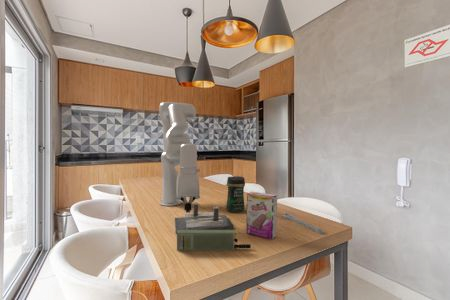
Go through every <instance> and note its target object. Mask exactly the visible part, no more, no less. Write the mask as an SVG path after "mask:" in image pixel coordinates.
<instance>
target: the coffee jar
mask: <svg viewBox="0 0 450 300" xmlns="http://www.w3.org/2000/svg"><path fill="white" fill-rule="evenodd" d="M226 185H227V198H226V199H227V200H226V205H225V206H226V211H227V212H229V213H240V212H242V213H243V212H244V211H245V198H244V196H245V195H244V191H245V185H246V179H245V177H243V176H241V175H240V176H239V175H237V176H228V177H227V181H226Z"/></svg>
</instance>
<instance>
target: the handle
mask: <svg viewBox="0 0 450 300" xmlns="http://www.w3.org/2000/svg"><path fill="white" fill-rule="evenodd" d="M219 209H220V207H219V206H218V205H214V206H213V212H214V219H213V221H215V220H219V215H220V214H219V211H220V210H219Z"/></svg>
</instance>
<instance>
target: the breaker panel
mask: <svg viewBox="0 0 450 300" xmlns="http://www.w3.org/2000/svg"><path fill="white" fill-rule="evenodd" d="M213 219H214V211H208V212H206V211H205V212H198V216H193V212H190V213H189V212H188V213H184V216H182V217H175V218H174V227H175V231H174V232H175V234H176V235H177V231H178V230H235V225H234V224H233V223H232V221H231V220H230V218H229V217H228V216H227V215H226V214H219V220H215V221H213Z"/></svg>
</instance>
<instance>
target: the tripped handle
mask: <svg viewBox="0 0 450 300" xmlns="http://www.w3.org/2000/svg"><path fill="white" fill-rule="evenodd" d="M192 204H193V212H192V213H193V216H198V213H199V207H198V206H199V202H197V201H195V202H194V201H193V202H192Z"/></svg>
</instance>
